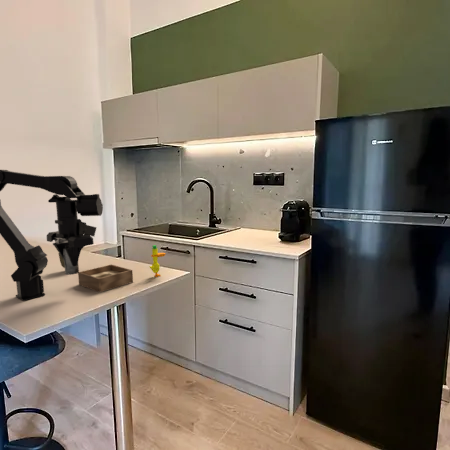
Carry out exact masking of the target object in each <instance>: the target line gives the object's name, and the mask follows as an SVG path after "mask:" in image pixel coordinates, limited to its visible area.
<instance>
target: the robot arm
mask: <svg viewBox="0 0 450 450" xmlns="http://www.w3.org/2000/svg"><path fill="white" fill-rule="evenodd" d="M7 184H10V185H16V186H22V187H30V188H37V189H41V190H45V191H47V192H49V193H52V194H53V195H52V196H51V198H49V199H48V201H47V202H48V203H55V208H56V218H57V219H55V220H54V224H56V225H57V229H58V230H57V231H50V232H48V233H47V234H46V242H50V243H52V242H53V243H52V246H54V248H55V249H56V251H57V252H58V253H60V255H61V257H62V258H63V260H64V253H63V249H64V248H65V249H66V252H67V254H68V256H69V259H70V261H71V263H72V265H73V266H77V263H78V264H79V260H80V259H79V258H80V255H81V252H82V250H83V248H85V247H87V246H92V245H94V238H95V235H96V232H97V227H96V226H92V225H88V224H87V223H86V221H85V222H84V221H82V219H80V218H78V215H80V216H81V217H101V216H102V214H103V209H104V207H103V205H104V204H103V203H102V200H101V198H100V193H93V194H85V193H84V192H83V190H82V189H81V188H80V187H79V186H78V182H77V180H76V179H75V177H73V176H71V175H52V176H51V175H50V176H49V175H48V176H44V175H38V174H33V173H32V174H31V173H24V172H18V171H17V172H16V171H11V170H7V169H0V192H1V191H3V190H4V188H5V187H6V186H7ZM0 235H1V237H2V239H3V240H4V241H5V243H7V245H8V247H9V248H10V249H11V250H12V252H13V254H14V260H15V263H16V266H17V268H16V270H15V271H14V272H13V273H12V274H11V275H10V277H11V279H12V282H16V283H15V284H16V291H17V292H16V294H15V297H16V298H18V300H19V299H20V300H21V301H23V302H24V301H28V300H32V299H35V298H40V297H42V296H45V295H46V293H45V288H44V287H45V286H44V280H43V279H42V276H41V275H42V274H43V272H44V269H45V268H46V267H47V266H48V262H49V260H48V258H47V256H48V254H47V253H45V251H44V250H43V248H42V247H41V245H36V246H34V245H32V244H30V243H29V241H28V240H27V239H26V238H25V236H24V234H22V232H21V231H20V229H19V228H18V227H17V226H16V224H15V223H14V222H13V220H12V218H11V217H10V216H9V215H8V214H7V212H6V211H5V209H4V208H3V206H2V201H1V200H0ZM93 237H94V238H93ZM78 259H79V260H78Z"/></svg>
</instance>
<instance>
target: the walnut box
mask: <svg viewBox="0 0 450 450" xmlns="http://www.w3.org/2000/svg"><path fill="white" fill-rule="evenodd" d="M77 276H78V285H79V286H81V287H84V288H88V289H89V290H93V291H95V292H98V293H102V292H105V291H108V290H111V289H115V288H118V287H122V286H126V285H129V284H131V283H132V284H133V283H134V277H133V269H130V268H127V267H126V268H125V267H122V266H120V265H119V266H118V265H115V264H108V265H102V266H100V267H99V266H98V267H96V268H95V267H94V268H90V269H87V270H82V271H79V273H77Z"/></svg>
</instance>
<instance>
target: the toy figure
mask: <svg viewBox="0 0 450 450" xmlns="http://www.w3.org/2000/svg"><path fill="white" fill-rule="evenodd" d="M151 247H152V248H151V249H152V250H151V252H152V254H151V255H150V257H151V258H152V262H153V263H152V264H151V265H150V266H148V267H149V269H150V270H151V271H152V272H153V273H154V278H158V276H159V277H161V274H160V273H159V272H160V268H161V267H160V263H158V260H159V259H158V258H162V257H165V256H166V255H167V254H166V253H165V252H159V251H158V247H157V245H152V246H151Z"/></svg>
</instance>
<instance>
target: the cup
mask: <svg viewBox="0 0 450 450" xmlns="http://www.w3.org/2000/svg"><path fill="white" fill-rule="evenodd" d="M58 257H59V262H60V265H61V267H62V268H64V269H65V265H64V260H63V258H62V257H61V255H60V253H59V252H58ZM79 260H80V259H78V261H79Z"/></svg>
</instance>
